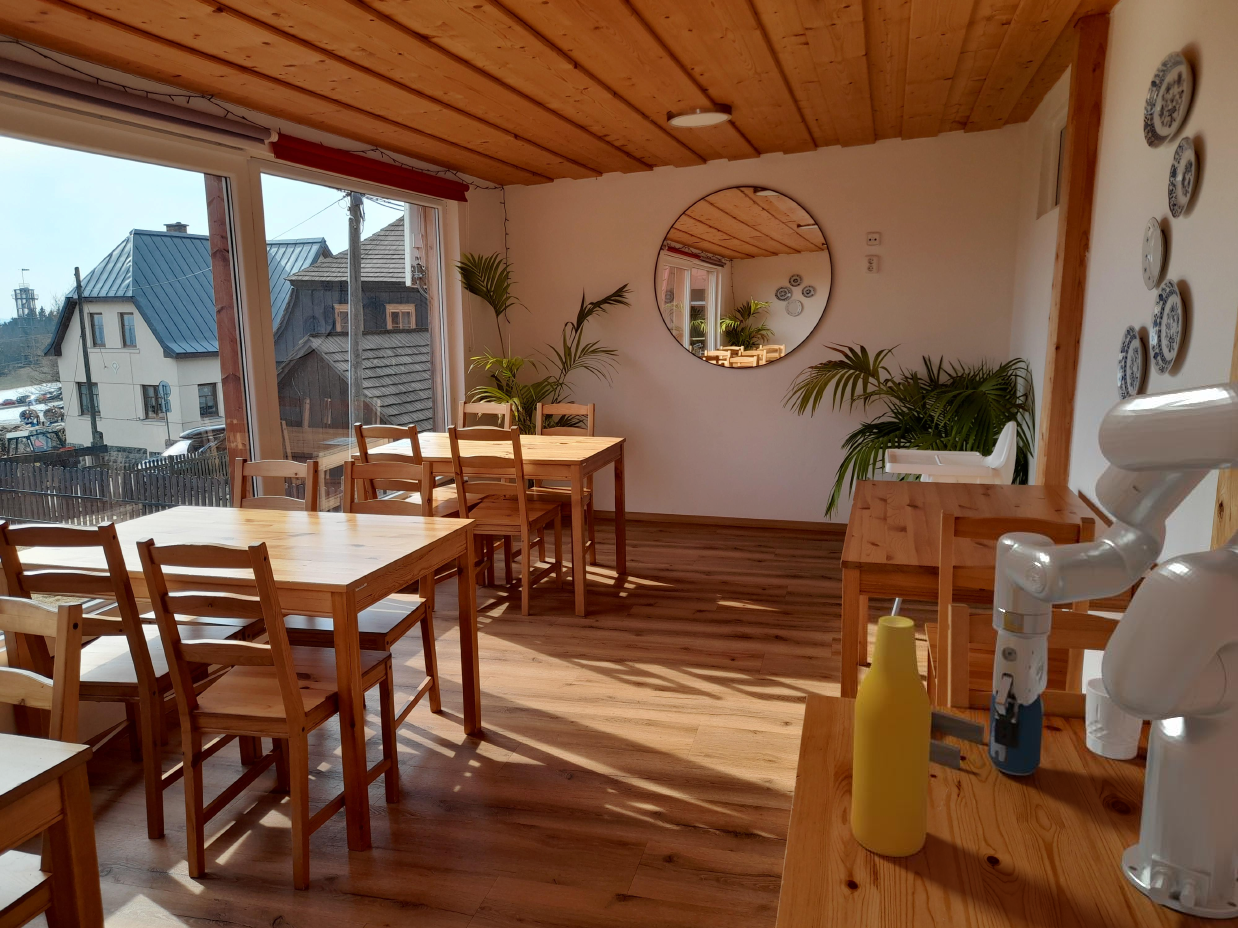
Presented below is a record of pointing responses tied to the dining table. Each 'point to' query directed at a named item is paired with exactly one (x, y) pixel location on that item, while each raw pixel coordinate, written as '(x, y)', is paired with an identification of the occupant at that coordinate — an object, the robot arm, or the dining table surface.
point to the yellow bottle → (891, 746)
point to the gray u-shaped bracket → (952, 727)
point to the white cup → (1109, 725)
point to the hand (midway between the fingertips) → (1015, 734)
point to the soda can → (1029, 740)
